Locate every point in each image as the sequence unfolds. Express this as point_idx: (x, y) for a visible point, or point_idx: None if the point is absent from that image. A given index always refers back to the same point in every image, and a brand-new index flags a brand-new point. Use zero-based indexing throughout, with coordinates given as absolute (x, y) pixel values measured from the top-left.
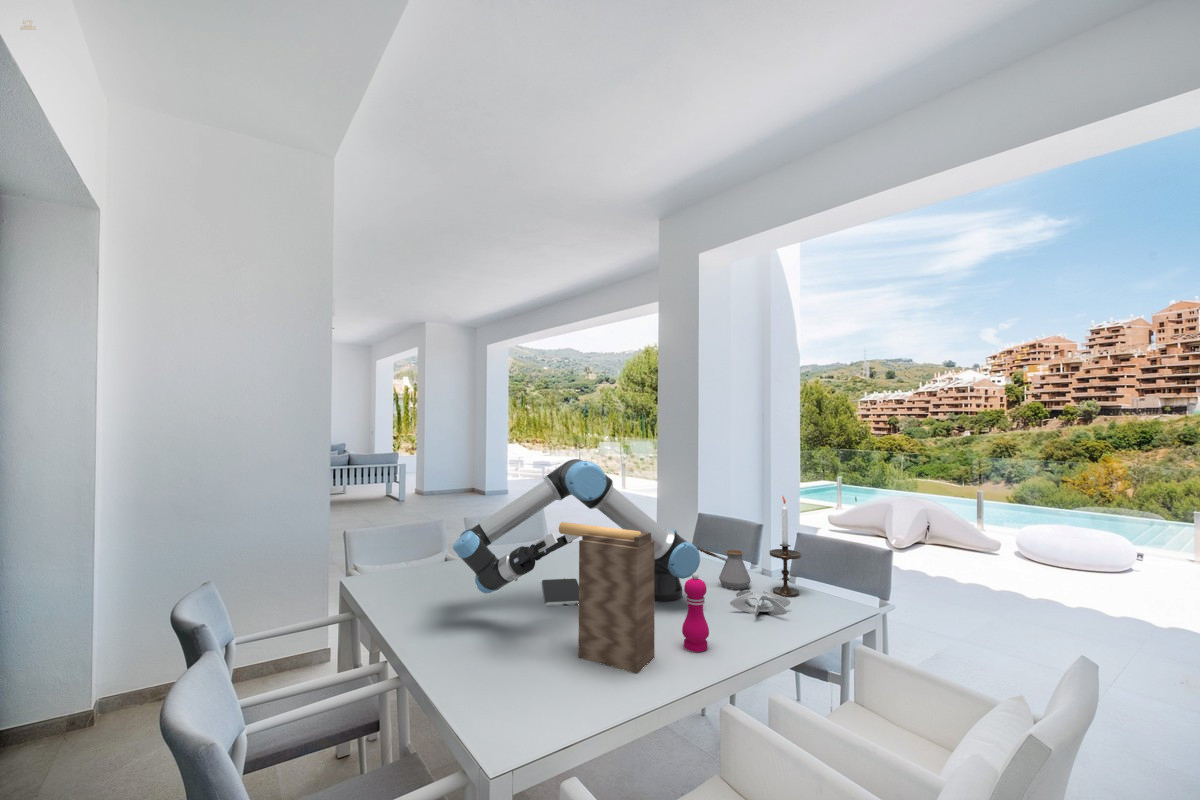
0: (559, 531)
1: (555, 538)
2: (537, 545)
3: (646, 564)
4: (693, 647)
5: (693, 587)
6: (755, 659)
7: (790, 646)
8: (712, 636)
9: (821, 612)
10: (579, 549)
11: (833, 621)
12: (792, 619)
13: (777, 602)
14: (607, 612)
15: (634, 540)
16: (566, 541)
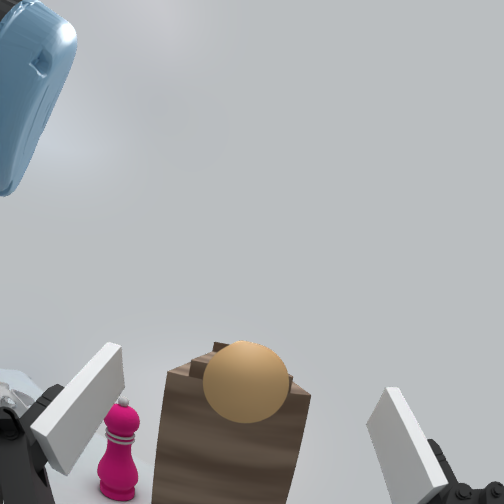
0: (278, 406)
1: (377, 410)
2: (443, 469)
3: None
4: (134, 491)
5: (138, 418)
6: (137, 461)
7: (97, 435)
8: (74, 469)
9: (16, 388)
10: (304, 424)
11: (38, 395)
12: (28, 406)
13: (24, 394)
14: None
15: None
16: (39, 472)
